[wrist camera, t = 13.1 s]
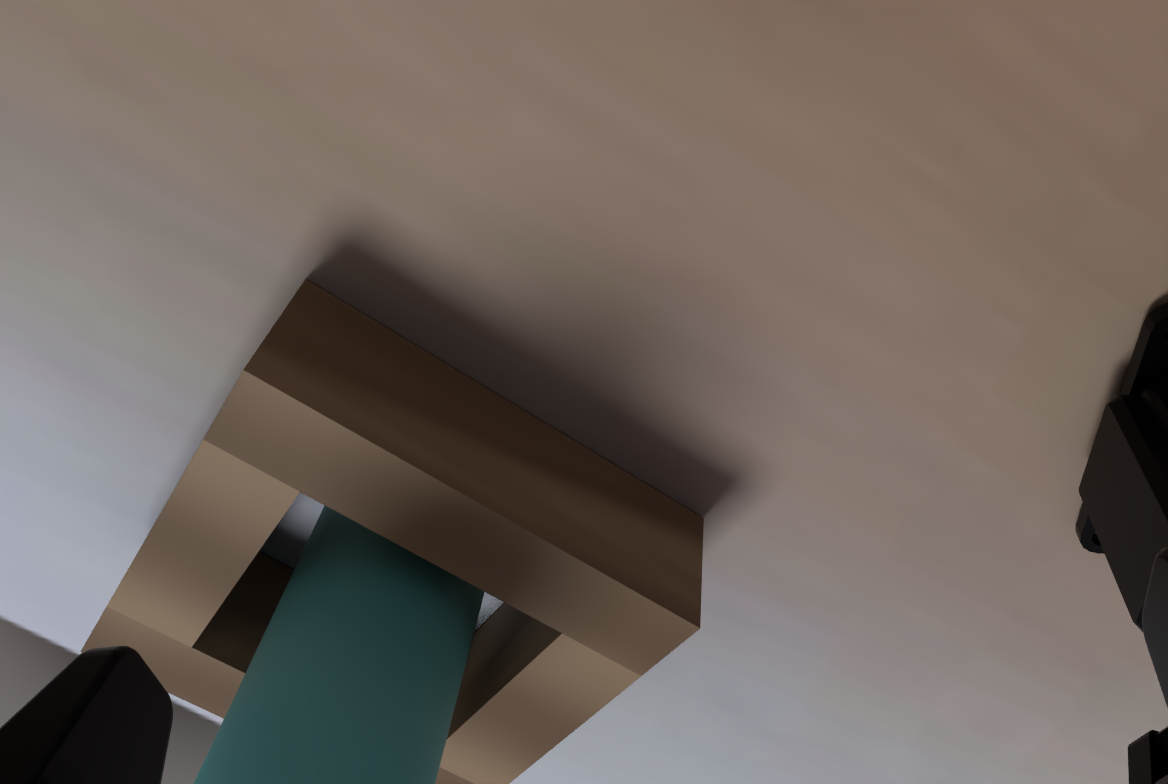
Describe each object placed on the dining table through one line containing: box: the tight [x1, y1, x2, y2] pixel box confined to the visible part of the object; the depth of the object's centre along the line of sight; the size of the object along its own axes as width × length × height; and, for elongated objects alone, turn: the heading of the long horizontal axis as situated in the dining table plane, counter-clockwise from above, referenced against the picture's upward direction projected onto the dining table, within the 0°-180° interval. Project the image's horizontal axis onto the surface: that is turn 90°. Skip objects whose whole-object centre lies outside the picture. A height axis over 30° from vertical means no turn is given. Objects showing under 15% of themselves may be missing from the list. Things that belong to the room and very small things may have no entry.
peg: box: [194, 506, 485, 784], centre depth 21 cm, size 5×5×13 cm
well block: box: [81, 279, 704, 784], centre depth 25 cm, size 11×11×4 cm
